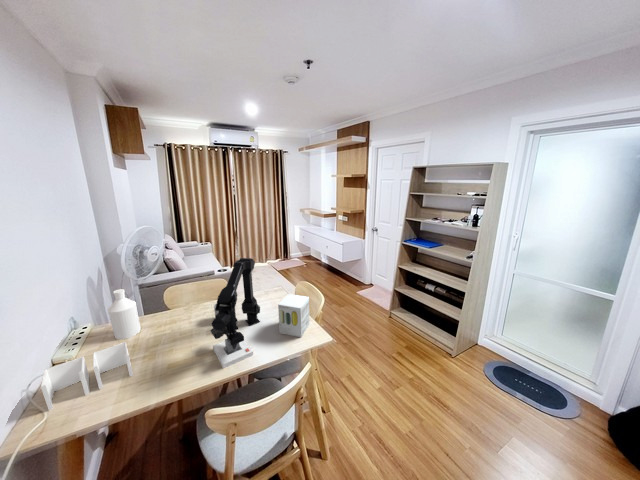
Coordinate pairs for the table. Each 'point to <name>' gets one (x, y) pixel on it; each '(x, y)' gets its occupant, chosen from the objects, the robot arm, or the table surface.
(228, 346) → the plug
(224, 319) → the robot arm
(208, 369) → the table surface
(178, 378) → the table surface
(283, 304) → the supplement box
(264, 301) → the table surface
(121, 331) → the bottle
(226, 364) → the socket plate
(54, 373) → the white u-channel brackets
